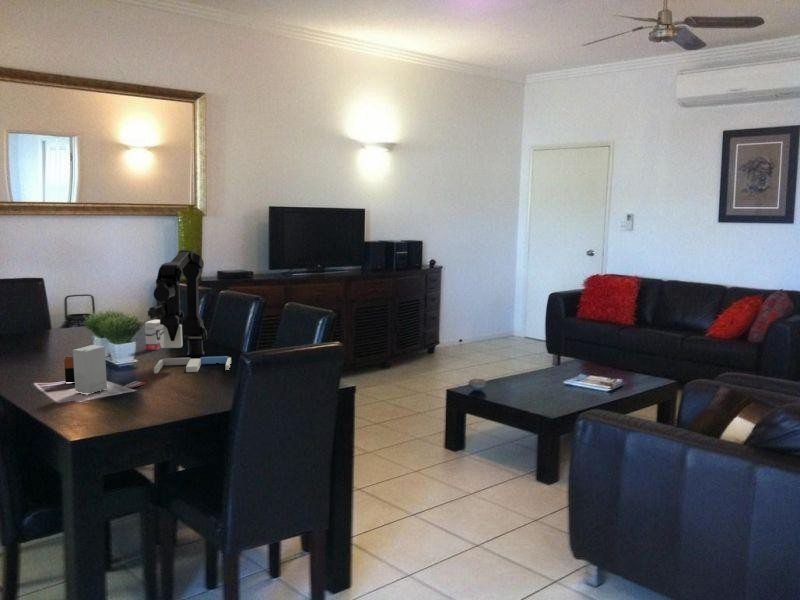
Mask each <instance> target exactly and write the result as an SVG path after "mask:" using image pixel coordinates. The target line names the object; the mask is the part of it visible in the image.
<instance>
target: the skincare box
mask: <svg viewBox="0 0 800 600" xmlns="http://www.w3.org/2000/svg"><path fill="white" fill-rule="evenodd" d="M72 356H73V362H74V377H75V384H74V389H75V391H78V392H82V393H92V392H96V391H100V390H103V391H105V390H104V389H106V390H108V382H107V381H108V380H107V367H106V365H107V364H106V348H105V346H103V345H98V344H90V345H87V346H83V347H80V348H79V347H78V348H75V349H72ZM75 391H74V392H75ZM100 392H101V391H100Z"/></svg>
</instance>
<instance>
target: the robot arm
mask: <svg viewBox="0 0 800 600" xmlns="http://www.w3.org/2000/svg"><path fill="white" fill-rule="evenodd" d="M204 263H205V262H204V260H203V258H202V257H201V256H200V255H199V254H197V253H195V252H194V251H193V250H191V249H180V250H178V252H177V253H176V256H175V257H174V258H173V259H172V260H171V261H168V262H165V263H163V264H161V265H160V267H159V268H158V272H157V277H156V280H155V281H156V282H155V284H156V285H158V286H156V287H155V289H154V291H153V297H154V298H155V300H156V301H157V302H159V303H160V302H161V305H158V306H152V307H149V309H148V310H147V315H148V317H149V319H150V320H154V318H157V317H159V316H162V317H160V319H159V320H160V325H164V326H165V327H166V328H167V330H168V333H169V336H170V340H171V341H174V340H175V337H176V334H177V331H178V328H179V325H182V341H187V349H188V350H187V354H186V356H187V357H192V356H193V357H194V356H195V357H197V356H204V355H205V350H204V346H203V345H204V344H203V342H204V341H207V340H208V332H207V330H206V327H205V325H204V320H203V319H202V318H201V316H200V304H199V303H200V295H199V293H200V291H199V289H200V288H199V279H200V277H201V275H202V274H203V270H204V269H203V268H204V267H205V266H204V265H205V264H204ZM183 276H184V278H185V280H186V317H185V311H183V309H181V303H182V302H181V296H180V295H181V294H180V285H181V283H180V282H181V281H182V278H183ZM184 317H185V318H184Z"/></svg>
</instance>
